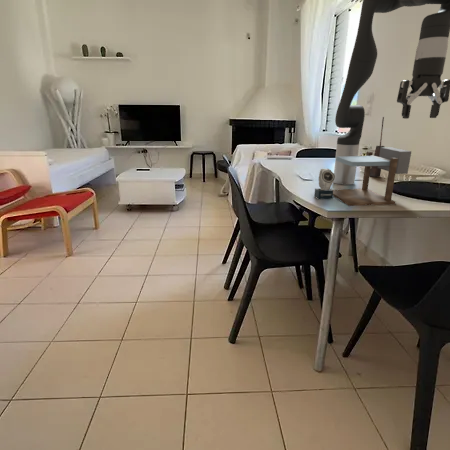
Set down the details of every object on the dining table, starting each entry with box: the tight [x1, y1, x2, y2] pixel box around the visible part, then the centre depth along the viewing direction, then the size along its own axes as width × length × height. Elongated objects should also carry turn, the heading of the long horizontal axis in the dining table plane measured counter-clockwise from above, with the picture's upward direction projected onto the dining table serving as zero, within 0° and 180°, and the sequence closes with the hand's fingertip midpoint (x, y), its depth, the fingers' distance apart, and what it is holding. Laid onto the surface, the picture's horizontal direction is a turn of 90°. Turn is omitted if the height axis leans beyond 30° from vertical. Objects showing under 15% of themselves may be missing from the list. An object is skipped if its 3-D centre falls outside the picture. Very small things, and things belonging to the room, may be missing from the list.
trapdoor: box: [335, 146, 412, 175], centre depth 120 cm, size 21×14×8 cm, turn 95°
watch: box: [314, 168, 335, 200], centre depth 124 cm, size 6×8×11 cm
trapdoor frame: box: [332, 151, 398, 207], centre depth 122 cm, size 17×20×16 cm
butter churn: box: [369, 116, 386, 178], centre depth 157 cm, size 9×10×28 cm
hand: (419, 118), depth 98 cm, fingers open, 8 cm apart
